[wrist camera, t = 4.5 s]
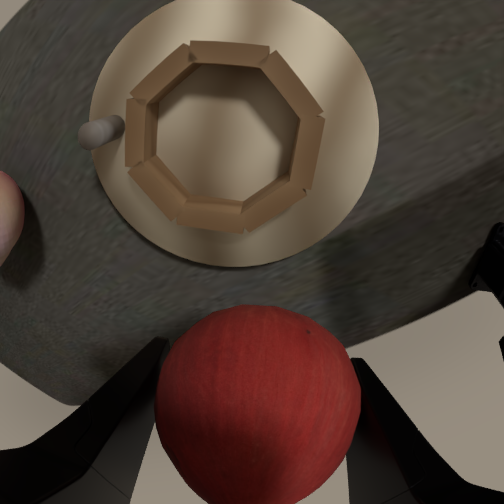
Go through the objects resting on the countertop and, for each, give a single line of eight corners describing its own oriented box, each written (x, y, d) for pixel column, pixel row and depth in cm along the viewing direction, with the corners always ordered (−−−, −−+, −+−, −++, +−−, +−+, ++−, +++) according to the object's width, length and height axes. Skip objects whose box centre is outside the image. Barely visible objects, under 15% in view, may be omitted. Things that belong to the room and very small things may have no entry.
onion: (267, 381, 13) (257, 547, 6) (159, 318, 12) (91, 509, 5) (369, 312, 11) (418, 522, 4) (253, 216, 9) (208, 525, 2)
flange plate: (393, 26, 13) (422, 14, 9) (335, 274, 22) (344, 311, 19) (109, 1, 13) (74, -10, 9) (104, 238, 22) (78, 268, 18)
